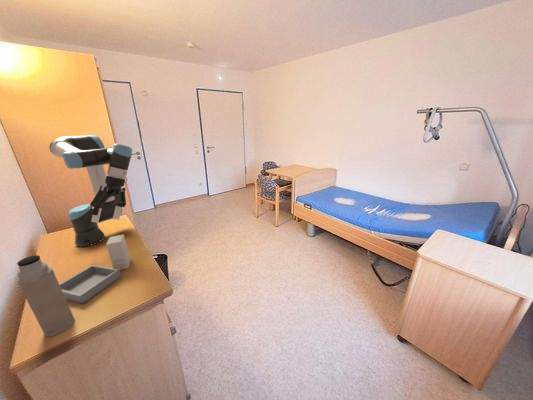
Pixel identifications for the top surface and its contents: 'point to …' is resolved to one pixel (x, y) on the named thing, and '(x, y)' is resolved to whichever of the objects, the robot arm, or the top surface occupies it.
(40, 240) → the top surface
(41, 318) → the thermos bottle
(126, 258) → the skincare box
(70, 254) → the top surface
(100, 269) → the tray
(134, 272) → the top surface
